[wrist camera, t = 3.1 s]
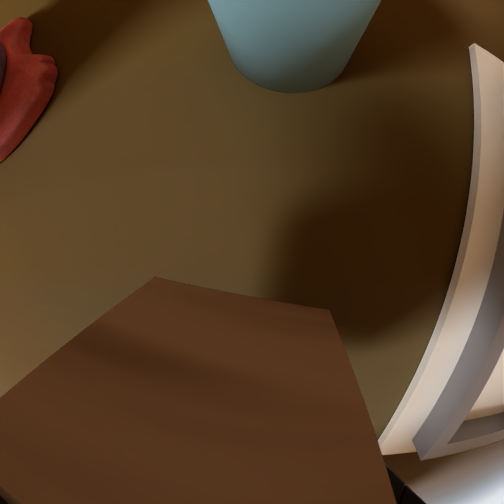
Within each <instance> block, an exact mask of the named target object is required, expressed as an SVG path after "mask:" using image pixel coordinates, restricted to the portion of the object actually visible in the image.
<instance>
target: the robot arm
mask: <svg viewBox="0 0 504 504" xmlns="http://www.w3.org/2000/svg"><path fill="white" fill-rule="evenodd" d="M385 466H386V469H387V472H388V476H389V479H390V483H391V486H392V489H393V493H394V497H395V500H396V504H426V503H425V502H424V501H423V500H422V499H421V498H420V497H418V496H417V495H416V494H415V493H414V492H413V491H412V490H411V489H410V488H409V487H408V486H407V485H406V486H405V483H404V482H403V481H402V480H401V479H400V478H399V477H398V476H397V475H396V474H395V473H394V472H393V471H392V470H391V469H390V468H389V467H388V466H387V465H386V464H385ZM0 504H8V503H7V502H6V501H5V500H4V499H3V498H2V497H1V496H0Z"/></svg>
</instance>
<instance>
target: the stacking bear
mask: <svg viewBox="0 0 504 504" xmlns="http://www.w3.org/2000/svg"><path fill="white" fill-rule="evenodd" d="M32 29H33V24H32V22H31V21H29V19H26V18H23V17H19V18H16V19H14V20H12V21H10V22H9V23H7V24H6V25H5V26H4V27H3V28H2V29H1V30H0V162H2V161H3V160H4V159H5V158H6V157H7V156H8V155H9V154H10V153H11V152H12V151H13V150H14V149H15V147H16V146H17V145H18V144H19V143H20V142H21V140H22V139H23V138H24V137H25V135H26V134H27V133H28V131H29V130H30V129H31V127H32V126H33V124H34V123H35V122H36V120H37V119H38V117H39V116H40V114H41V113H42V111H43V110H44V108H45V107H46V105H47V103H48V102H49V100H50V98H51V96H52V94H53V91H54V87H55V82H56V79H57V74H58V70H57V67H55V61H54V59H53V57H51V56H48V55H42V54H32V52H31V50H30V46H29V43H30V37H31V34H32Z"/></svg>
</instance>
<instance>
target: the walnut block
mask: <svg viewBox="0 0 504 504" xmlns="http://www.w3.org/2000/svg"><path fill="white" fill-rule="evenodd" d="M0 496H1V497H2V498H3V499H4V500H5V501H6V502H7V503H8V504H396V500H395V497H394V493H393V489H392V486H391V483H390V479H389V476H388V472H387V469H386V466H385V463H384V459H383V456H382V453H381V450H380V447H379V444H378V441H377V438H376V434H375V431H374V428H373V426H372V423H371V420H370V417H369V414H368V411H367V408H366V405H365V402H364V399H363V397H362V394H361V391H360V388H359V386H358V383H357V380H356V377H355V375H354V372H353V369H352V367H351V364H350V361H349V359H348V356H347V353H346V351H345V348H344V346H343V343H342V340H341V338H340V335H339V333H338V330H337V328H336V325H335V323H334V320H333V318H332V315H331V313H330V310H328V309H321V308H315V307H309V306H302V305H296V304H290V303H284V302H279V301H273V300H267V299H262V298H256V297H251V296H245V295H240V294H235V293H229V292H224V291H219V290H214V289H209V288H204V287H199V286H194V285H190V284H185V283H180V282H176V281H171V280H166V279H162V278H157V277H154V278H153V279H151V280H150V281H149V282H147V283H146V284H145V285H143V286H142V287H140V288H139V289H138V290H136V291H135V292H134V293H132V294H131V295H130V296H128V297H127V298H126V299H124V300H123V301H121V302H120V303H119V304H117V305H116V306H115V307H113V308H112V309H111V310H109V311H108V312H107V313H105V314H104V315H103V316H102V317H100V318H99V319H98V320H96V321H95V322H94V323H92V324H91V325H90V326H88V327H87V328H86V329H85V330H83V331H82V332H81V333H79V334H78V335H77V336H75V337H74V338H73V339H72V340H70V341H69V342H68V343H67V344H65V345H64V346H63V347H61V348H60V349H59V350H58V351H56V352H55V353H54V354H53V355H51V356H50V357H49V358H48V359H46V360H45V361H44V362H43V363H42V364H40V365H39V366H38V367H37V368H35V369H34V370H33V371H32V372H31V373H29V374H28V375H27V376H26V377H24V378H23V379H22V380H21V381H20V382H18V383H17V384H16V385H15V386H14V387H13V388H11V389H10V390H9V391H8V392H7V393H5V394H4V395H3V396H2V397H1V398H0Z"/></svg>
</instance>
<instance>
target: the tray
mask: <svg viewBox="0 0 504 504" xmlns="http://www.w3.org/2000/svg"><path fill="white" fill-rule="evenodd" d="M469 53H470V61H471V70H472V80H473V96H474V146H473V162H472V174H471V183H470V191H469V199H468V205H467V212H466V217H465V223H464V228H463V233H462V238H461V243H460V247H459V251H458V255H457V259H456V263H455V267H454V271H453V275H452V278H451V282H450V285H449V288H448V291H447V295H446V298H445V301H444V304H443V307H442V310H441V313H440V315H439V318H438V321H437V324H436V326H435V329H434V331H433V334H432V337H431V339H430V342H429V344H428V346H427V349H426V351H425V353H424V356H423V358H422V360H421V362H420V365H419V367H418V369H417V371H416V373H415V375H414V377H413V379H412V381H411V383H410V385H409V387H408V389H407V391H406V393H405V395H404V397H403V399H402V401H401V402H400V404H399V406H398V408H397V410H396V411H395V413H394V415H393V417H392V418H391V420H390V422H389V423H388V425H387V427H386V428H385V430H384V432H383V433H382V435H381V436H380V438H379V439H378V444H379V447H380V450H381V453H382V455H390V454H400V453H409V452H417V453H418V455H419V458H420V460H426V459H432V458H437V457H442V456H447V455H451V454H455V453H459V452H463V451H467V450H471V449H474V448H478V447H481V446H484V445H488V444H491V443H494V442H497V441H500V440H502V439H504V62H502V61H501V60H500V59H498V58H497V57H495V56H494V55H492V54H491V53H489V52H488V51H486V50H485V49H483V48H482V47H480V46H478V45H477V44H475V43H474V44H472V45H471V46H469Z"/></svg>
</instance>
